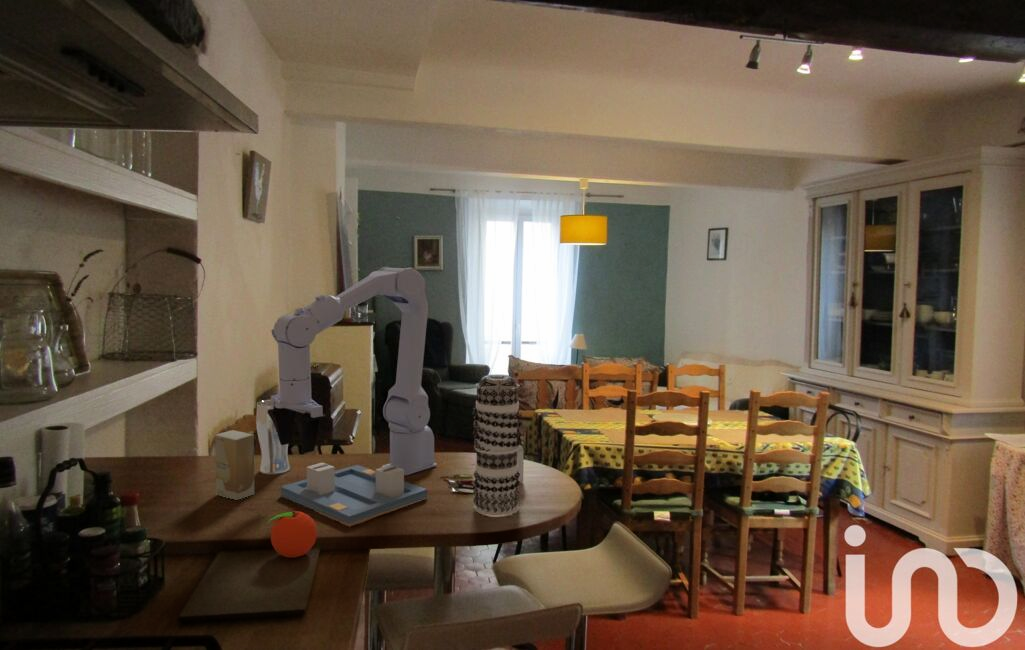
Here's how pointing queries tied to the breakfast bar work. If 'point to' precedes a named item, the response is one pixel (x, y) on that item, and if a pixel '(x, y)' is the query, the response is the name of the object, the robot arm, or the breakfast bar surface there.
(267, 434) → the beer glass
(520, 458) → the white rounded block
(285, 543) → the clementine
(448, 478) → the breakfast bar surface
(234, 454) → the skincare box
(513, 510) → the decorative candle
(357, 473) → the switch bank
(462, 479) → the breakfast bar surface
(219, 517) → the breakfast bar surface
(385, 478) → the white block
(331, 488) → the white striped block
